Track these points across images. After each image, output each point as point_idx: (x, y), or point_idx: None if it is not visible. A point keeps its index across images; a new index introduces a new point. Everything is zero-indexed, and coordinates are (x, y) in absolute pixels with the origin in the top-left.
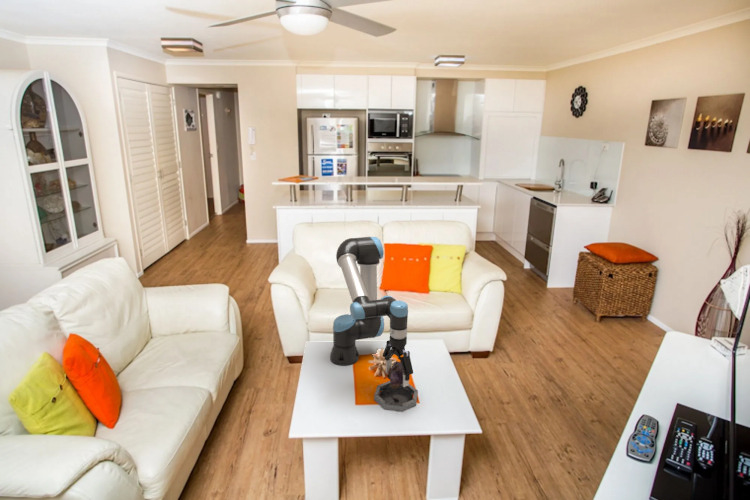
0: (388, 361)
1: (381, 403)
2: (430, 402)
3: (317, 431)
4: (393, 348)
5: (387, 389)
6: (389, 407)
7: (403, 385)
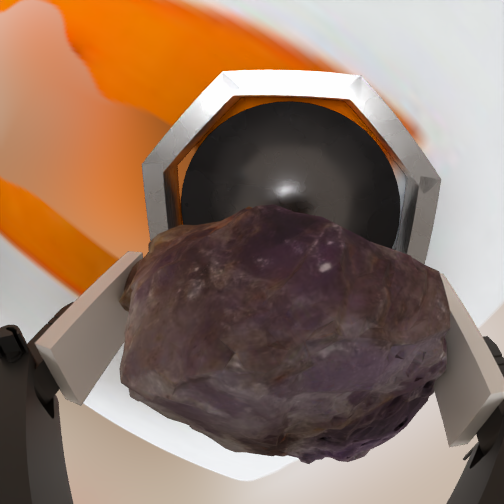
0: (77, 380)
1: None
2: (454, 79)
3: (275, 471)
4: None
5: (195, 213)
6: None
7: None
